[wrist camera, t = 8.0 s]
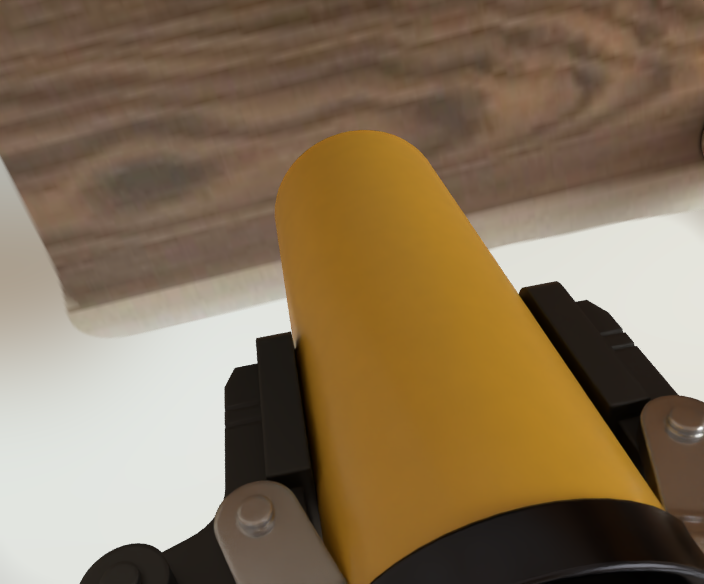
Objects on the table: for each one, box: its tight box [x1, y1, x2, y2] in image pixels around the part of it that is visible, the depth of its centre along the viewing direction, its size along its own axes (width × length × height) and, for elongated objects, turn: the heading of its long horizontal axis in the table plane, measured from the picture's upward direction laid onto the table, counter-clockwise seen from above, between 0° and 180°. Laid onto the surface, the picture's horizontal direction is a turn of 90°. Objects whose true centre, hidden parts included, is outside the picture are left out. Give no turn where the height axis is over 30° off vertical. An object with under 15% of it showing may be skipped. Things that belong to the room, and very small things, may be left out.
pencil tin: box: [275, 130, 704, 584], centre depth 13 cm, size 5×5×13 cm
